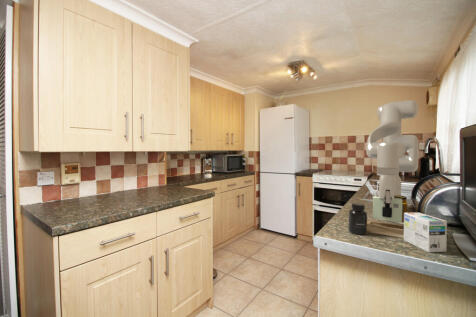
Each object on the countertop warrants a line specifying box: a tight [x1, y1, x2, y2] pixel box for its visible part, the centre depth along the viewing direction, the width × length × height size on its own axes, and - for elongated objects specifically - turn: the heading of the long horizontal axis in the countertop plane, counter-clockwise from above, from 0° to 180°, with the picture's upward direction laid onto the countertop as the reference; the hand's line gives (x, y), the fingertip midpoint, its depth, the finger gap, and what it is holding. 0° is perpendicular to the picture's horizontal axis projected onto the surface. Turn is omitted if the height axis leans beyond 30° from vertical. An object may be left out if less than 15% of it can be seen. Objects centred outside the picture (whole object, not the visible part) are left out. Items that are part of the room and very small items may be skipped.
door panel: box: [372, 195, 402, 223], centre depth 92 cm, size 3×10×9 cm, turn 58°
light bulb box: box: [403, 212, 448, 253], centre depth 79 cm, size 11×7×11 cm, turn 5°
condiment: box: [390, 195, 409, 225], centre depth 107 cm, size 7×8×12 cm
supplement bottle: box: [347, 202, 368, 236], centre depth 92 cm, size 7×7×12 cm
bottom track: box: [367, 219, 404, 239], centre depth 92 cm, size 7×14×3 cm, turn 58°
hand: (386, 215), depth 92 cm, fingers closed on door panel, 3 cm apart
